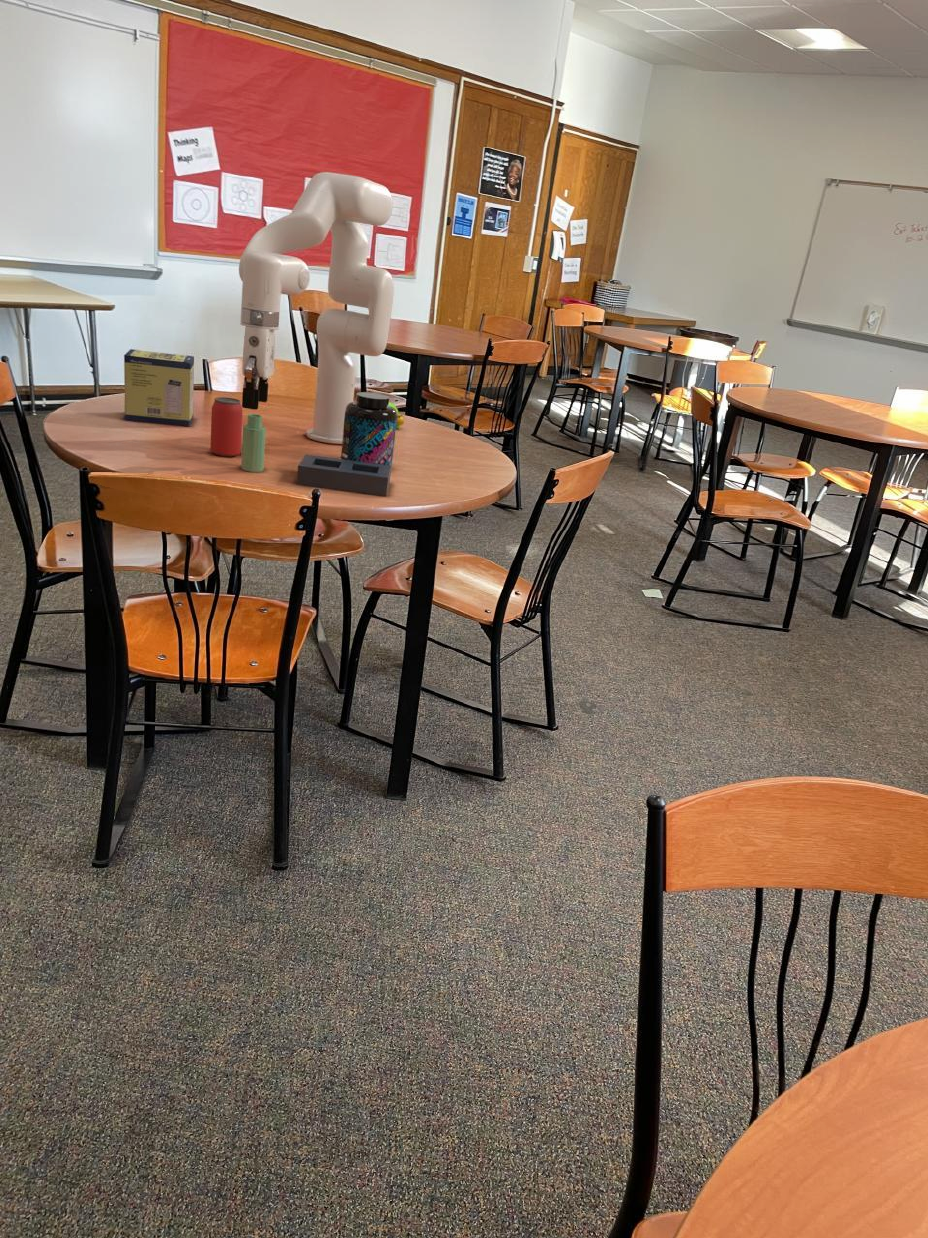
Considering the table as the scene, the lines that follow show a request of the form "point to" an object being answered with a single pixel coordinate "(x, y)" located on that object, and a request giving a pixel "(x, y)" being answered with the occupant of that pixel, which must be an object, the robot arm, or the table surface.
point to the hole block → (344, 475)
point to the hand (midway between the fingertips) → (254, 404)
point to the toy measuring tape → (399, 417)
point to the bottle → (253, 444)
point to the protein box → (158, 387)
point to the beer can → (226, 427)
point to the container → (369, 429)
